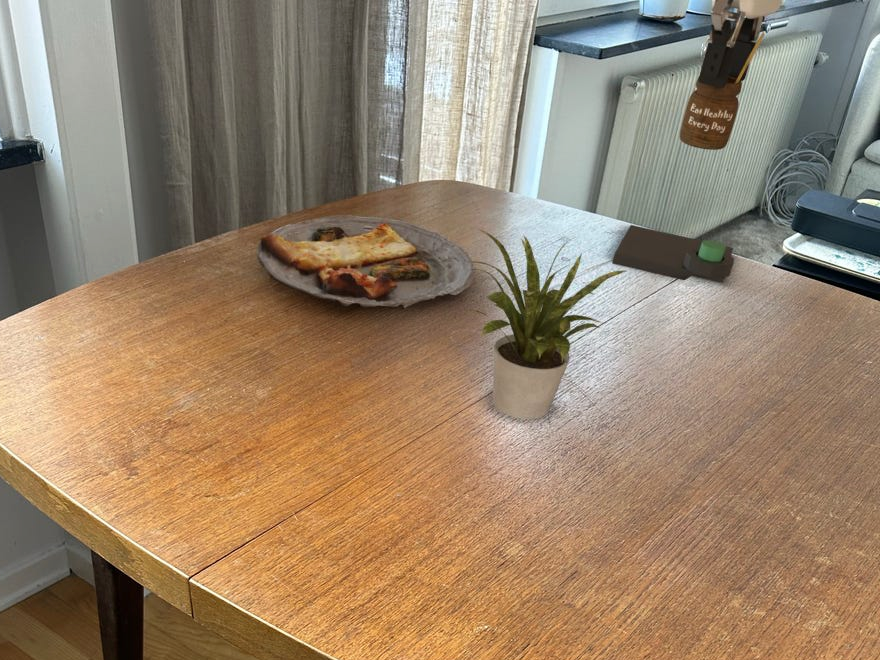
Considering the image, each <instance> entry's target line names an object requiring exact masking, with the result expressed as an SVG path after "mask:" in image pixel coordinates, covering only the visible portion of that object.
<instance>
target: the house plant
mask: <svg viewBox="0 0 880 660" xmlns="http://www.w3.org/2000/svg"><path fill="white" fill-rule="evenodd" d="M476 229H477V230H478V231H480V232H482V233H483V234H485V235H487V236H488V237H489V238H490V239H491V240H492V241H493V242H494V243H495V245H496V246H497V247H498V249H499V250H500V252H501V254H502V256H503V260H504V263H505V265H506V268H507V271H508V274H509V277H510V278H509V277H508V276H507V274H505V273H504V272H503V271H502V270H501V269H499V268H498V267H495V266H494V265H491V264H489V263H486V262H483V261H476V260H475V261H474V260H472V261H471V262H473V263H472V264H474V263H475V264H482V265H486V266H489V267H491V268H494V269H495V270H496V271H497V272H499V273H500V275H501V276H502V277H503V279H504V280H505V282H506V283H507V285H508V287H509V289H510V291H511V293H512V295H513V298H514V299H515V302H516V305H517V308H518V309H517V308H516V306H515V304H514V301H513V300H512V299H511V297H510V296H509V295H508V294H507V293H506V292H505V290H504V289H503V286H502V284H501V283H500V282H499V280H498V279H497V278H496V277H495V276H494V275H493V274H491V273H490V272H489V271H486V270H483V269H479V268H473V271H481V272H483V273H486V274H488V275H489V276H490V277H491V278H492V279H493V280H494V281H495V283H496V284H497V286H498V288H499V289H500V291H495V292H493V293H490V294H488V295H487V296H486V298H487V299H488V300H489V301H491V302H492V303H494V306H495V307H498V308H500V309H501V310H502V311H503V312H504V314H505V316H506V318H507V319H508V321H506V320H503V319H494V320H493V319H491V318H490V321H488V322H487V323H486V324H485V326H484V327H483V329H482V331H481V334H480V336H479V338H478V339H481V337H483V336H484V335H487V334H490V333H493V332H495V331H498V330H500V331H501V332H502V334H503V335H504V336H502V337H499V338H498V339H497V340H496V341H494V344H493V346H492V347H493V348H492V405H494V407H495V409H497V410H498V411H499V412H501V413H502V414H504V415H507V416H509V417H512V418H516V419H521V420H522V419H523V420H535V419H540V418H542V417H544V416H546V415H547V414H548V413H549V410H550V409H551V406H552V404H553V401H554V398H555V396H556V394H557V392H558V389H559V386H560V384H561V382H562V379H563V377H564V375H565V372H566V370H567V367H568V366H569V365H568V364H569V362H570V359H571V357H570V354H569V352H570V348H571V342H570V340H569V339H568V338H569V337H571V336H573V335H574V334H576V333H579V332H581V331H583V330H587V329H591V328H597V329H601V330H602V331H603V329H602V328H601V327H600V326H598V325H597V324H595V323H589V322H587V323H582V324H580V325H577V326H576V327H574V328H572V329H571V323H572V322H574V321H575V322H576V321H593V322H596V323H600V324H601V323H603V322H602V321H601V320H597V319H595V318H593V317H590V316H586V315H585V316H584V315H579V314H569V315H566V314H567V313H568V312H569V311H570V310H572V308H573V307H574V306H575V305H576V304H578V303H579V302H580V301H581V300H582V299H583V298H586V296H588V295H590V294H591V295H594V293H593V291H596V289H597V288H599V287H600V286H601V285H602V284H603V283H604V282H606V281H607V280H609V279H611V278H613V277H615V276H619V275H620V274H623V273H625V272H627V270H616V271H615V270H614V271H609V272H608V273H605V274H603V275H601V276H599V277H596V278H595V279H594V280H592V281H591V282H589V283H588V284H587V285H585V286H584V287H582V288H581V289H580V290H578V291H577V292H576V293H575V294H574V295H572V296H570V297H567V298H566V299H564V300H563V298H564V296H565V294H566V293H567V291H568V290H569V288H570V286H571V285H572V283H573V281H574V279H575V277H576V274H577V273H578V269H579V266H580V264H581V259H582V255H583V254H582V252H581V253H580V255H579V256H578V257H577V259H576V260H575V261H574V264H573V265H572V267H571V268H570V269H569V271H568V272H567V274H566V276H565V278H564V280H563V283H562V284H561V286H560V288H559V289H554V288H553V289H550V290H549V288H550V285H551V284H552V281H553V280H554V277H555V275H556V274H557V273H558V272H561V270H563V269H565V268H567V267H569V266H570V265H571V263H569V264H567V265H566V266H564V267H562V268H559V269H558V270H557V271H554V273H552V274H551V275H550V273H551V271H552V268H553V266H554V264H555V262H556V259H557V257H558V256H559V254H560V253H561V251H562V250H563V248H565V246H566V245H567V243H569V240H567V241H566V242H565V243H564V244H563V245H562V246H561V247H560V248H559V249H558V251H557V253H556V255H555V256H554V258H553V260H552V263H551V265H550V268H549V270H548V273H547V276H546V278H545V281H544V284H543V286H542V288H541V279H540V278H541V277H540V272H539V267H538V264H537V261H536V258H535V256H534V252H533V248H532V246H531V244H530V241H529V239H528V238H527V237H526V236H525V235H523V238H524V240H523V238H520V239H521V244H522V246H523V248H524V253H525V258H526V274H525V275H526V288H527V289H523V290H522V291H521V288H520V285H519V282H518V279H517V276H516V272H515V269H514V266H513V263H512V261H511V258H510V255H509V253H508V251H507V250H506V247H505V246H504V244H503V243H502V242H501V241H500V240H498V239H497V238H496V237H494V236H493V235H492V234H491V233H488V232H486V231H484V230H482V229H480V228H478V227H477V228H476ZM562 300H563V301H562ZM467 312H472V313H478V314H481V315H483V316H485V317H487V318H489V315H487V313H485V312H482V311H480V310H476V309H470V310H469V309H467ZM508 326H510V328H511V331H512V334H508V335H507V334H506V333H505V332H504V331H503V330H502V329H503V328H506V327H508Z"/></svg>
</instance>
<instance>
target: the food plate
mask: <svg viewBox="0 0 880 660" xmlns="http://www.w3.org/2000/svg"><path fill="white" fill-rule="evenodd" d="M259 240H260V241H259V244H258V245H257V251H258V252H257V255H256V259H257V260H258V261H259V264H260V265H261V267H262V268H263V269H264V271H265V272H266V273H267V275H269V277H270V278H271V279H272V280H274V281H275V282H277V283H279V284H280V285H282V286H284V287H286V288H289V289H292V290H295V291H299V292H302V293H303V294H306V295H308V296H309V297H311V298H313V299H315V300H323V301H325V302H331V303H334V307H336V306H337V305H338V304H337V301H338V302H339V305H342V306H343V307H344V306H345V307H348V306H351V305H352V304H359V305H360V308H361V307H362V308H373V307H377V306H380V307H395V308H397V307H399V306H400V305H402V306H403V309H406V308H408V307H410V306H412V305H415V304H417V303H420V302H422V301H429V300H431V299H432V300H434V299H435V298H436V297H439V296H441V297H443V296H445V295H448V294H449V295H452V296H457V295H458V294H460V293H463V291H465V290H467V288H468V287H470V286H471V285H472V283H473V280H474V279H473V278H474V272H473V271H474V270H473V269H474V263H473V262H471V261H473V260H472V259H471V257H470V256H469V254H468V251H465V248H463V247H462V246H461V245H459V244H458V243H456V242H455V241H453V240H451V239H449V238H447V236H445V235H443V234H442V233H440V232H437V231H434V230H431V229H429V228H425V227H422V226H421V225H418V224H413V223H410V222H408V221H407V222H406V221H403V220H398V219H397V220H396V219H393V218H384V217H379V216H378V217H364V216H355V215H354V214H353V215H352V214H338V215H328V216H321V217H317V218H313V219H308V220H302V221H299V222H294V223H289V224H287V225H283V226H281V227H279V228H276V229H275V230H273V231H271V232H270V233H269V234H266V235H265V236H261V237H260V238H259Z"/></svg>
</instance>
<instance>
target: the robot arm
mask: <svg viewBox="0 0 880 660" xmlns="http://www.w3.org/2000/svg"><path fill="white" fill-rule="evenodd" d="M782 3H783V0H711V5H712V8H711V14H710V16H711V25H710V27H711V30H710V33H709V35H708V37H709V38H708V37H707V41H708V42H707V45H706V48H705V56H703V61H702V63H701V67H702V68H701V67H700V72H699V75H698V77H699V78H698V77H697V79H698V81H699V82H700V83H702V84H706V85H710V86H713V87H717V88H723V87H725V85H726V82H727V79H728V76H731V77H734V78H738V76H739V74H740V73H741V71H742V69H743V67H744V65H745V63H746V61H747V59H748V57H749V55H750V54H751V52H752V50H753V48H754V47H755V45H756V43H757V42H758V40H759V38H760V35H761V29H762V23H764V21H765V20H766V16H770V15H773V14H774V13H776V12H778V10H779V9H780V8H781V6H782ZM733 9H737V11H736V12H735V11H730V10H733ZM732 21H733V24H732ZM750 64H751V62H750V63H749V64H748V66H747V68H746V69H745V71H744V73H743V75H742V77H741V78H740V81H741V82H743V81H745V80H746V77H747V75H748V74H747V73H748V71H749V68H750Z"/></svg>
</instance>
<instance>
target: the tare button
mask: <svg viewBox="0 0 880 660" xmlns="http://www.w3.org/2000/svg"><path fill="white" fill-rule="evenodd" d="M702 241H703V242H702V243H701V247H700V250H699V253H698V257H700V258H702V259H704V260H708V261H712V262H721V261H722V258H723V255H724V252H725V249H726V246H727V245H725V244H724V243H722V242H719V241H716V240H711V239H710V240H709V239H707V240H706V239H705V240H702Z"/></svg>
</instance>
